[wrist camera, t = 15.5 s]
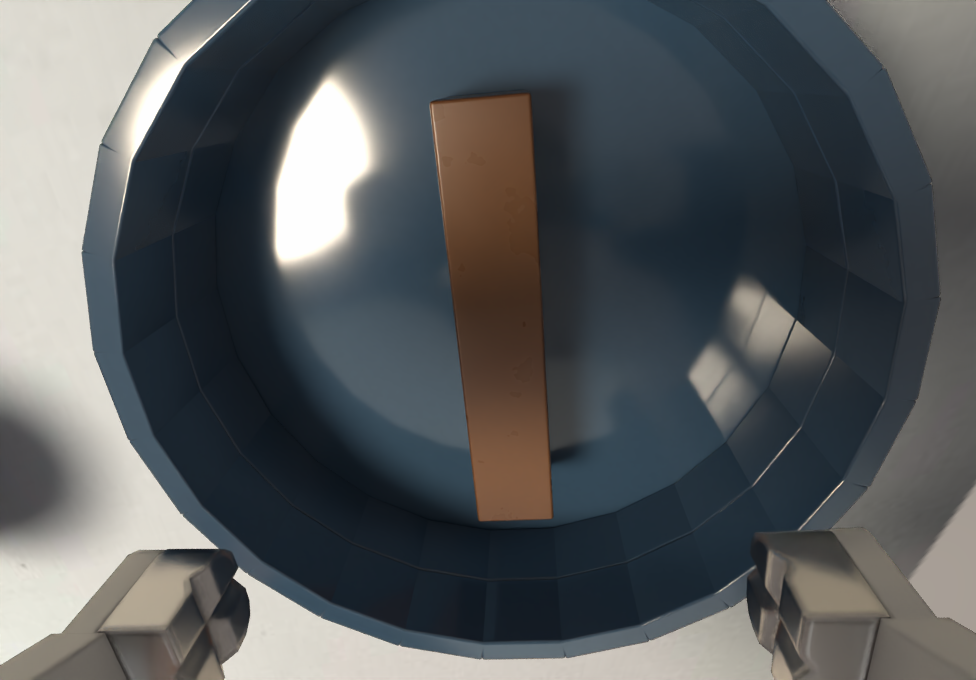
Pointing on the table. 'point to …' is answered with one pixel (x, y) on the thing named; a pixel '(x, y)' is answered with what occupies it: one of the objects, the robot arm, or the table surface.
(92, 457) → the table surface
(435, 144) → the stick
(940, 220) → the table surface
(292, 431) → the bowl
